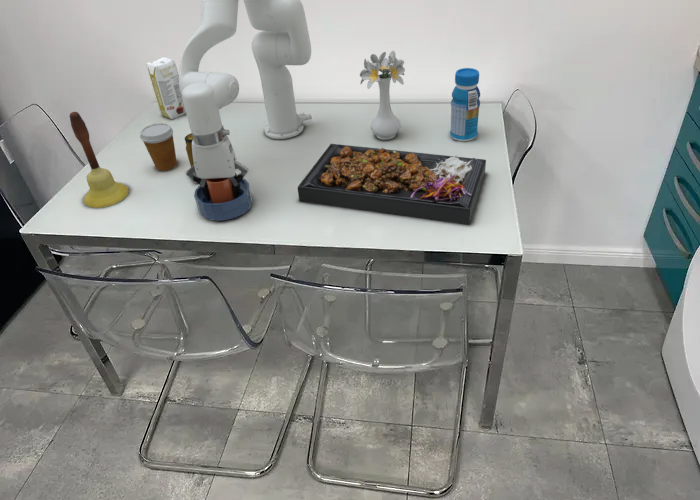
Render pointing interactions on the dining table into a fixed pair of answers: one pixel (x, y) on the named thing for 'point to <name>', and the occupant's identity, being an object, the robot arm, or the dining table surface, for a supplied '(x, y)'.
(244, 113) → the dining table surface
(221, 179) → the cup
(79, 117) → the handbell
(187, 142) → the condiment
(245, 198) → the bowl
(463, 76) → the beverage bottle
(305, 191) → the food platter
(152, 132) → the disposable coffee cup
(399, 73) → the flower vase
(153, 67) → the juice carton
